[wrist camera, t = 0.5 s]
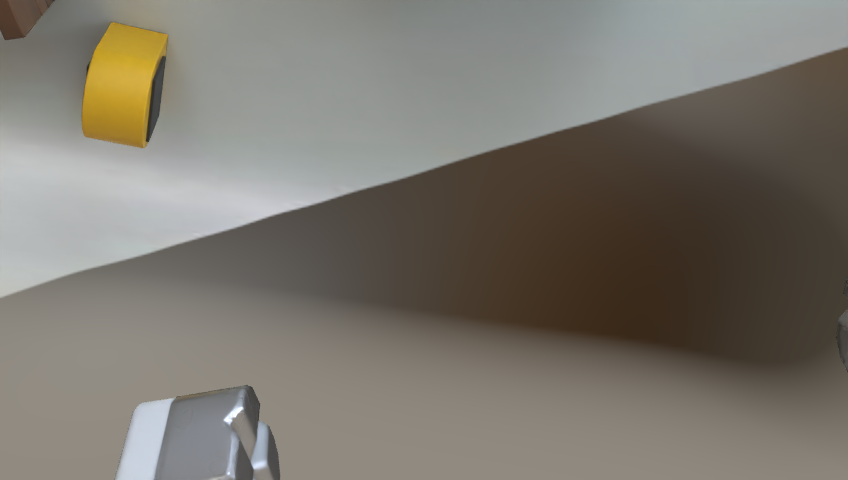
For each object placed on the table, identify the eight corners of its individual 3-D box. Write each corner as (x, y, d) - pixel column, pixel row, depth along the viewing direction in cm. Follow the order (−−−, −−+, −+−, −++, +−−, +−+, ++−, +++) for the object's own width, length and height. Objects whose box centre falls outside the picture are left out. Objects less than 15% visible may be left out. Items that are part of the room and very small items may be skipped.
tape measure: (108, 20, 52) (80, 65, 46) (171, 35, 53) (152, 80, 47) (101, 109, 56) (75, 161, 50) (161, 121, 57) (142, 174, 51)
